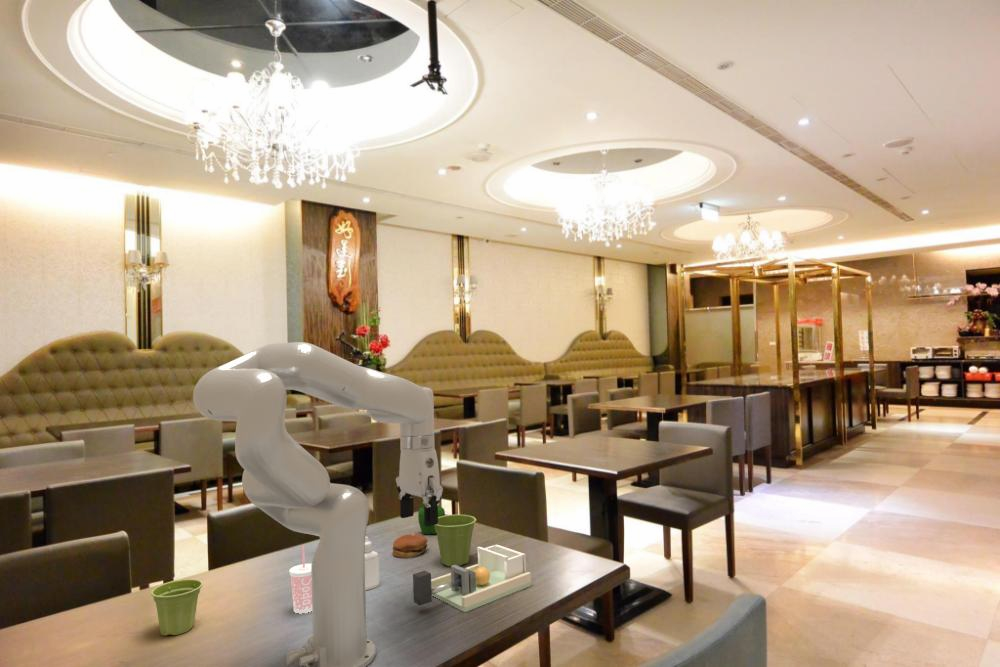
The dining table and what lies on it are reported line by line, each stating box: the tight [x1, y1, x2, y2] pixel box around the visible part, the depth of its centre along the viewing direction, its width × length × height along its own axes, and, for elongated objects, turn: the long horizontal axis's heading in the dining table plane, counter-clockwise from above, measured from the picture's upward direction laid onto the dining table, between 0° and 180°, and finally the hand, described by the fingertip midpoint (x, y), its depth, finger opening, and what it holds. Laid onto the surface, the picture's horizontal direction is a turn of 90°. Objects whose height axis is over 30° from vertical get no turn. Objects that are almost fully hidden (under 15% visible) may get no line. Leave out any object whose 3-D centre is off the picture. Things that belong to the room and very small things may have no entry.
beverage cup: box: [288, 544, 312, 615], centre depth 128 cm, size 6×6×14 cm
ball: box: [474, 567, 490, 585], centre depth 135 cm, size 4×4×4 cm
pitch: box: [431, 544, 532, 613], centre depth 135 cm, size 20×14×8 cm
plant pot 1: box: [150, 578, 204, 637], centre depth 120 cm, size 9×9×9 cm
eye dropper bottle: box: [365, 536, 380, 591], centre depth 139 cm, size 4×6×12 cm
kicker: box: [412, 566, 476, 607], centre depth 128 cm, size 14×5×6 cm, turn 131°
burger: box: [392, 533, 429, 559], centre depth 163 cm, size 10×9×5 cm
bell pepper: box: [417, 501, 446, 535], centre depth 181 cm, size 8×8×10 cm
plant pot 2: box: [434, 514, 477, 567], centre depth 154 cm, size 12×12×11 cm
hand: (418, 520), depth 127 cm, fingers open, 9 cm apart
